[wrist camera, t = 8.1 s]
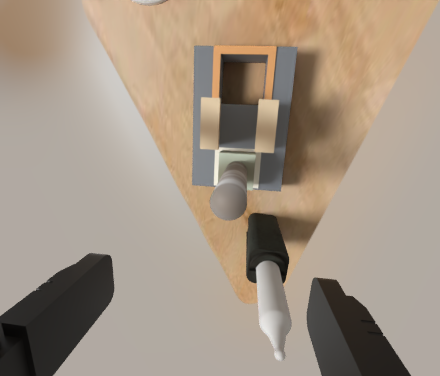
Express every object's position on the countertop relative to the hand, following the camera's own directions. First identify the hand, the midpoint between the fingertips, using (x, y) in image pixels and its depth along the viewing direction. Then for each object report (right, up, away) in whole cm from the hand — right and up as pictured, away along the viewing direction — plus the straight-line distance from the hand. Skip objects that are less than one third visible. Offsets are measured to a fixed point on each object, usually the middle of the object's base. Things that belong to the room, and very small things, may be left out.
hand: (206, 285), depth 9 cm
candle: (+8, -3, +33) cm, 34 cm away
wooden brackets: (+3, +13, +25) cm, 28 cm away
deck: (+4, +14, +29) cm, 32 cm away
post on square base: (+3, +7, +26) cm, 28 cm away
